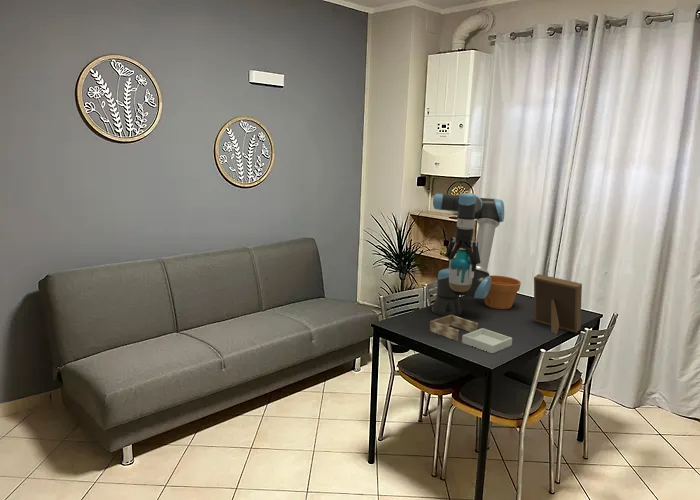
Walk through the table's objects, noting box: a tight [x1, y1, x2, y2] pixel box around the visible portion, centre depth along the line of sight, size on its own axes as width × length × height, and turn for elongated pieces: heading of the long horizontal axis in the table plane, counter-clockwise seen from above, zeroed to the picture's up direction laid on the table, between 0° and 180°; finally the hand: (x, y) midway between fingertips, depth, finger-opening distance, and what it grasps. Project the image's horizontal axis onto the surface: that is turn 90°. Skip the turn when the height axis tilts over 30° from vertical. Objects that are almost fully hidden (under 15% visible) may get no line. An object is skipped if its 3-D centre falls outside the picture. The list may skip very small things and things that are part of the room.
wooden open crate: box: [429, 315, 479, 342], centre depth 248 cm, size 16×16×5 cm
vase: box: [449, 248, 472, 292], centre depth 241 cm, size 11×11×19 cm
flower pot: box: [483, 274, 522, 310], centre depth 292 cm, size 21×21×15 cm
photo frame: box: [533, 273, 583, 335], centre depth 257 cm, size 15×22×25 cm
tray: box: [461, 327, 513, 354], centre depth 235 cm, size 16×16×4 cm
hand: (460, 275), depth 241 cm, fingers closed on vase, 11 cm apart
